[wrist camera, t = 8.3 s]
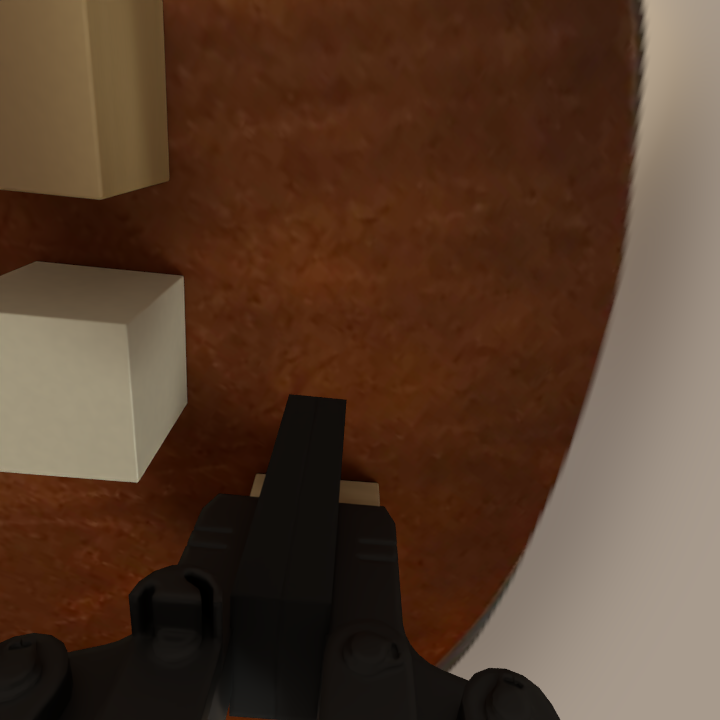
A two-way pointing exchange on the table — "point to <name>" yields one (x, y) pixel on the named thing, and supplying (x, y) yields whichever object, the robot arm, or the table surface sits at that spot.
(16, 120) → the block
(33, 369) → the middle block
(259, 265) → the table surface
